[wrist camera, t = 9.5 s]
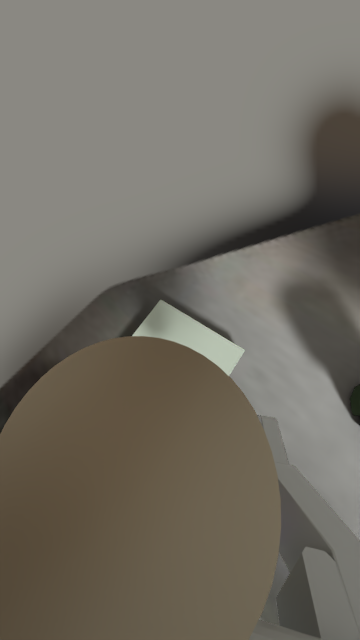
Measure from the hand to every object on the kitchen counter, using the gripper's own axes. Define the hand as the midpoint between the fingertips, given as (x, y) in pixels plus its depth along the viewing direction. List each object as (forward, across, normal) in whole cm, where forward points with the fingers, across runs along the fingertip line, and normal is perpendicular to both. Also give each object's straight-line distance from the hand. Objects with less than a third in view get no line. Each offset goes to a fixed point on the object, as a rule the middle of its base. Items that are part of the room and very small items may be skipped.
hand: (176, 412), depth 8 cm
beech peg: (+4, 0, +5) cm, 6 cm away
